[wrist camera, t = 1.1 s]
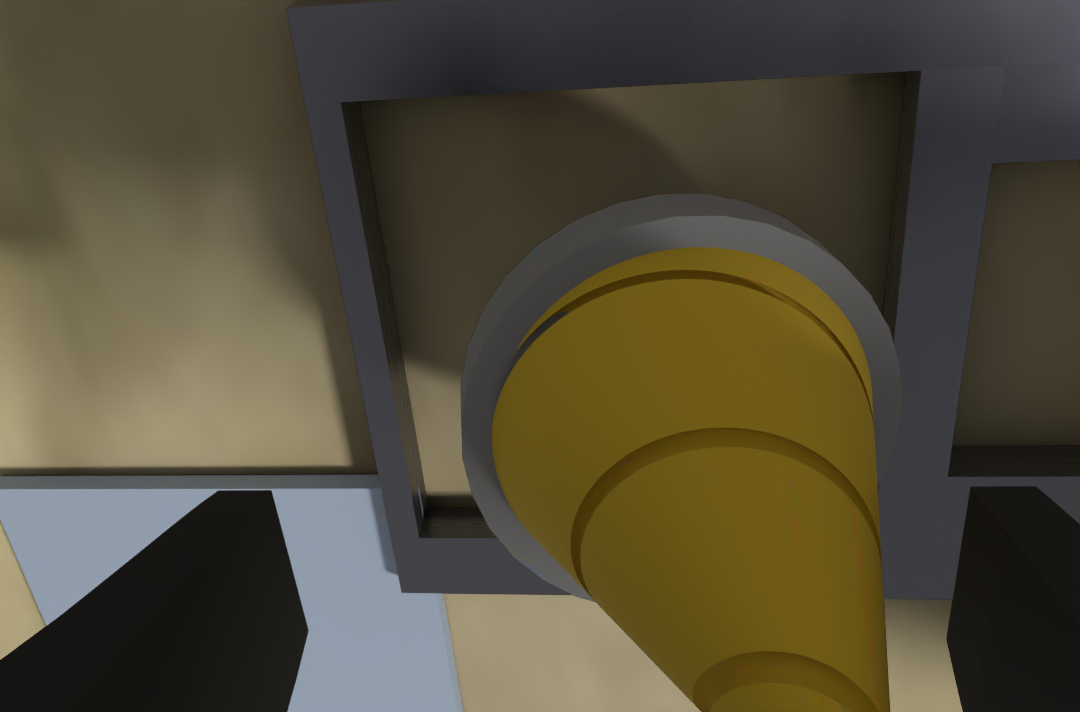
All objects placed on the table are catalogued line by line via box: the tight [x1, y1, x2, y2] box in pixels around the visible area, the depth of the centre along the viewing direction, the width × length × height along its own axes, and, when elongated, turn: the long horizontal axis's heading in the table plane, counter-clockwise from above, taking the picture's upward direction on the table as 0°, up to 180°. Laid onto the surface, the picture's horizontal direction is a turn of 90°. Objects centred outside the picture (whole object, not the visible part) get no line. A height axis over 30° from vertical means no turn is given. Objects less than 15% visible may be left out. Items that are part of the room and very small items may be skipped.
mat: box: [0, 475, 463, 712], centre depth 20 cm, size 8×8×1 cm
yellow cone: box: [461, 194, 902, 712], centre depth 11 cm, size 5×5×10 cm
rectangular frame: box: [286, 0, 1080, 600], centre depth 15 cm, size 14×10×1 cm
